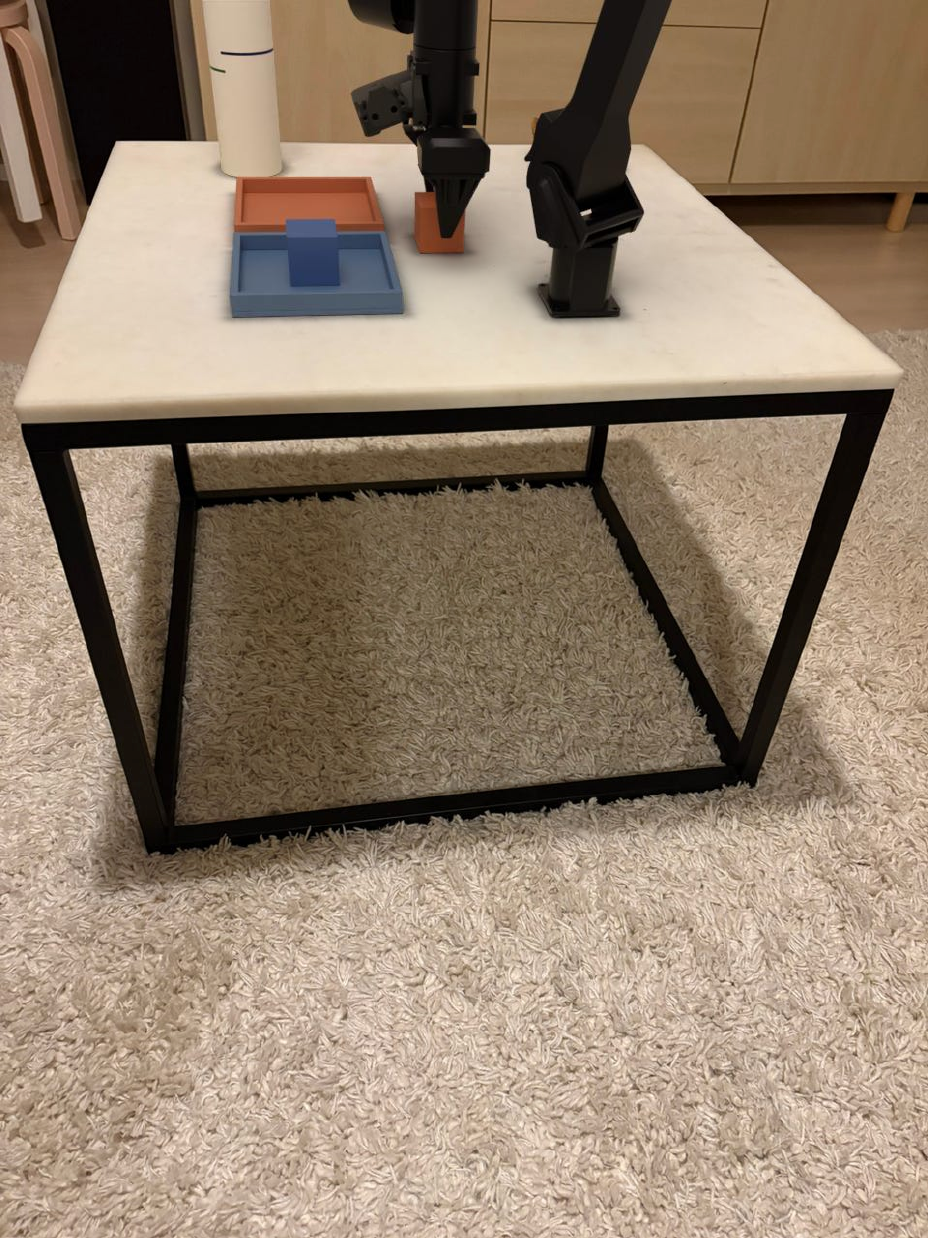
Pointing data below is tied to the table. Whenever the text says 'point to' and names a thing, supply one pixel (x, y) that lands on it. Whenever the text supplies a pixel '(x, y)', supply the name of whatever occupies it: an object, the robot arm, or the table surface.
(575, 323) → the table surface
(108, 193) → the table surface
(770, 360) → the table surface
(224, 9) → the cylindrical container
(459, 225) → the clay block
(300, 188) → the clay tray
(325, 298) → the blue tray
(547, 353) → the table surface
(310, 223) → the blue block
